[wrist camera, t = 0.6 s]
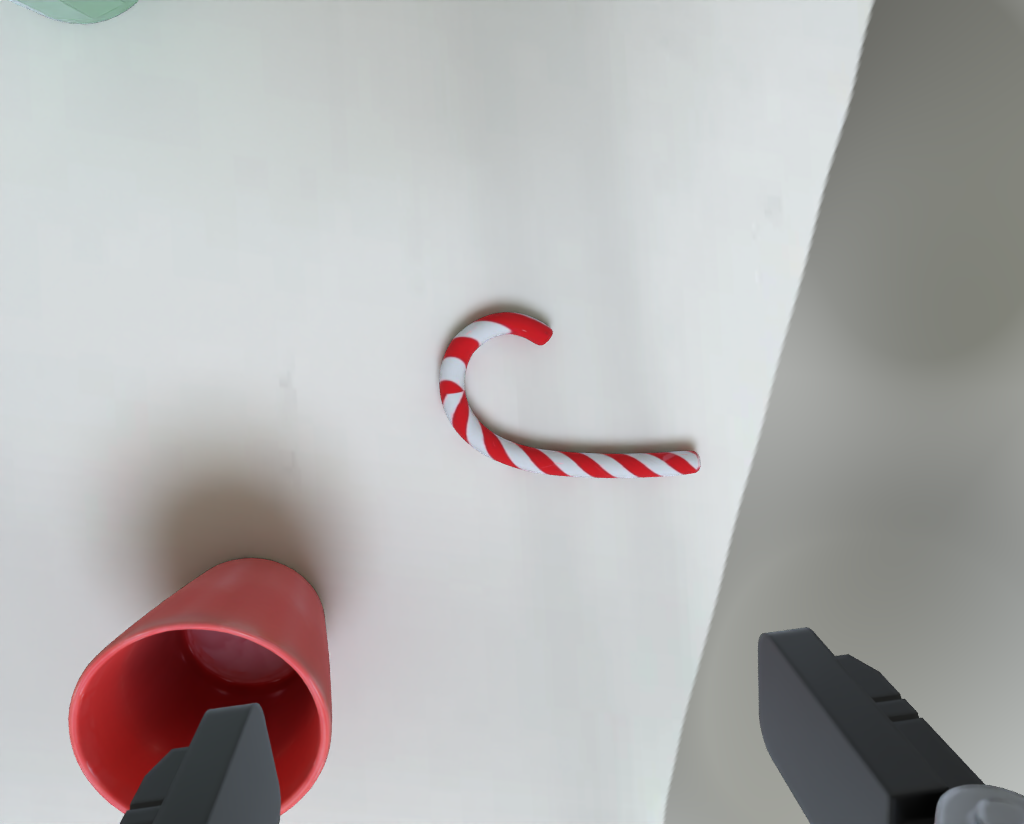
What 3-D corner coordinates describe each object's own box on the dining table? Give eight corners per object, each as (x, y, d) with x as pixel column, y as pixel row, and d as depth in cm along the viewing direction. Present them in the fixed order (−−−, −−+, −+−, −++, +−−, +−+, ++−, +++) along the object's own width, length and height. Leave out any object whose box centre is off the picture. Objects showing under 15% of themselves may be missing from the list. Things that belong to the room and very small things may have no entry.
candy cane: (679, 523, 41) (416, 439, 39) (672, 514, 42) (416, 432, 40) (737, 391, 39) (466, 294, 37) (728, 386, 41) (465, 292, 38)
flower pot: (215, 491, 40) (144, 576, 30) (391, 594, 42) (376, 702, 33) (115, 643, 41) (18, 768, 32) (289, 734, 44) (247, 875, 34)
